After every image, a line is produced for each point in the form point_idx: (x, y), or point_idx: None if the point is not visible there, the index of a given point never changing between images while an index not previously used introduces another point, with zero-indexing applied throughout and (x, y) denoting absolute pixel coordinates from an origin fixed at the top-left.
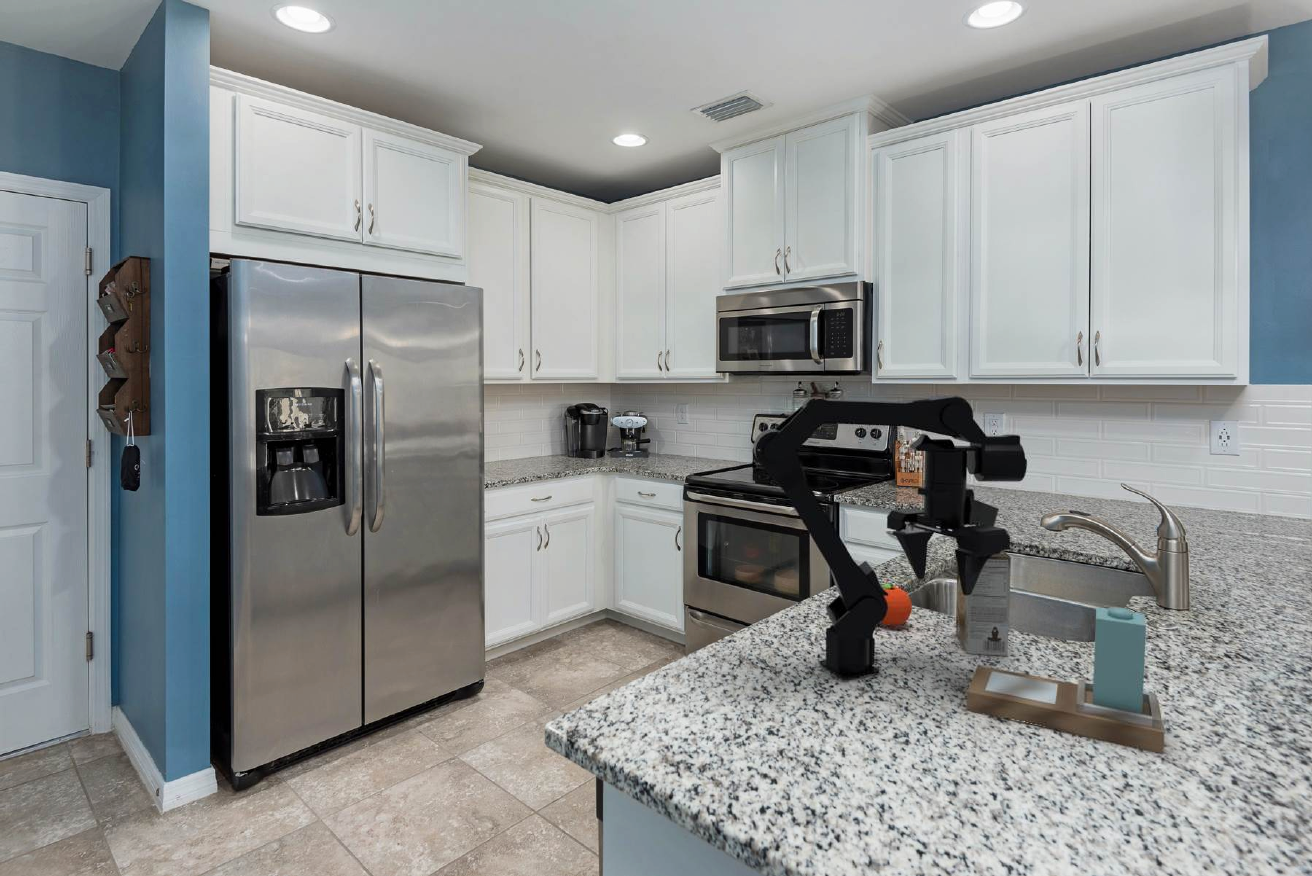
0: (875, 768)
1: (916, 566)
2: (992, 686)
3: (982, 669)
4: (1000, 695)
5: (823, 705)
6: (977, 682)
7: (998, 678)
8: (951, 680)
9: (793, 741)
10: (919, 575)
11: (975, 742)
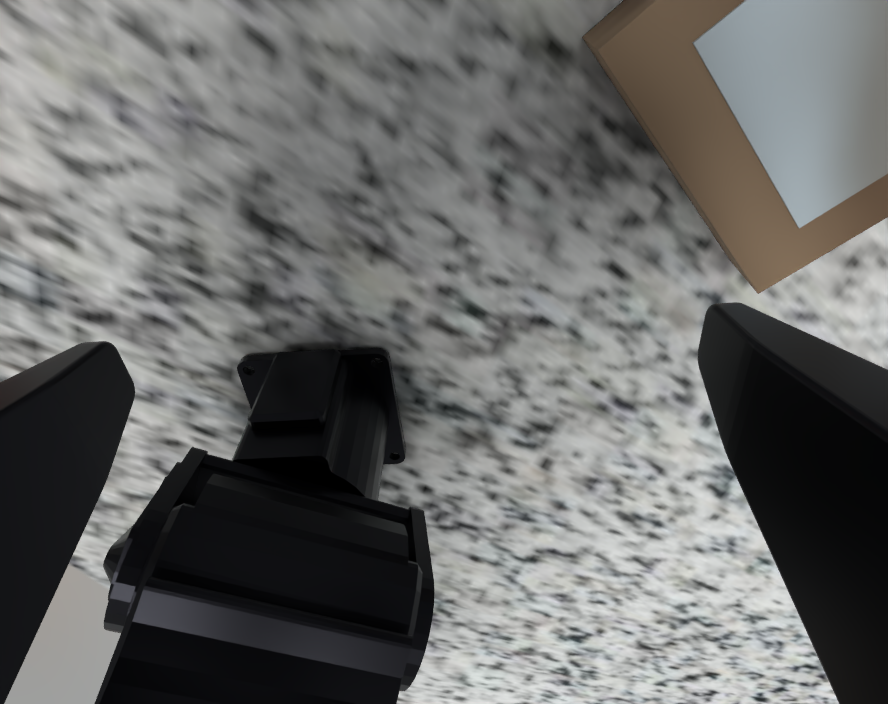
0: None
1: (82, 507)
2: (800, 177)
3: (646, 68)
4: (863, 201)
5: (517, 541)
6: (728, 199)
7: (766, 81)
8: (518, 138)
9: (624, 625)
10: (122, 410)
11: None
